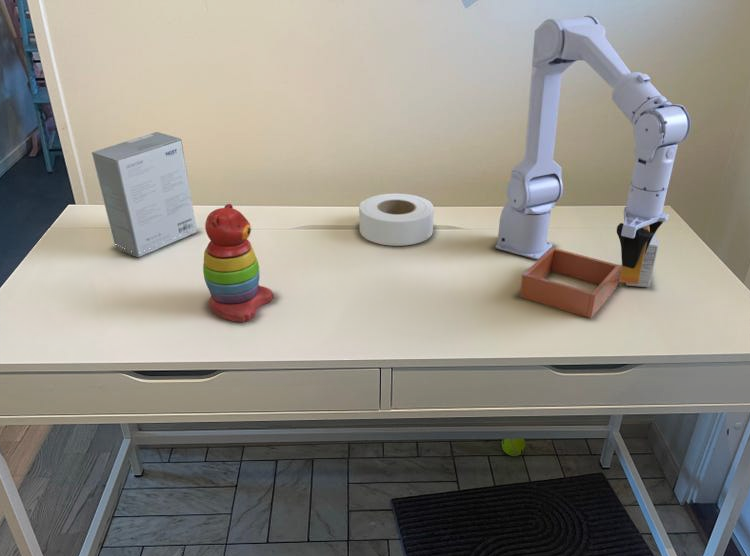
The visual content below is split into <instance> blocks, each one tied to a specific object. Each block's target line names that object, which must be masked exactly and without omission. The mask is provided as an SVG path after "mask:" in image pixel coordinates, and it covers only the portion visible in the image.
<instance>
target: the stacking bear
mask: <svg viewBox="0 0 750 556" xmlns="http://www.w3.org/2000/svg"><path fill="white" fill-rule="evenodd" d="M204 228H205V233H206V236H207V237H208V239H209V242H208V244H207V245H206V248H205V250H204V252H203V253H204V254H203V264H202V272H203V279H204V282H205V285H206V288H207V290H208V291H209V294H210V295H211V296H210V298H209V308H210V310H211V311H212V312H213V313H214V314H216V315H217V316H219V317H221V318H222V319H225V320H229V321H232V322H238V323H245V322H249V321H251V320H253V319H254V318H255V317H256V311H257V309H259V307H261V306H263V305H266V304H269V303H271V302H272V301H273V300H274V297H275V296H274V293H273V291H272V290H271V289H270V288H268V287H266V286H262V285H260V284H259V283H260V264H259V261H258V258H257V255H256V252H255V250H254V248H253V245H252V243H251V241H250V240H249V237H250V235H251V232H252V226H251V223H250V221H249V220H248V219H247V217H245V215H244V214H242V212H241V211H239V210H238V209H236V208H234V206H233V205H232V203H227V204H225V205H224V207H220V208H216V209H214V210H213V211H211V212H210V213H209V214H208V215H207V217H206V219H205V223H204Z"/></svg>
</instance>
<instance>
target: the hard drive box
mask: <svg viewBox="0 0 750 556" xmlns="http://www.w3.org/2000/svg"><path fill="white" fill-rule="evenodd" d="M91 156H92V159H93V164H94V168H95V172H96V176H97V180H98V184H99V188H100V193H101V196H102V200H103V204H104V208H105V211H106V217H107V220H108V223H109V228H110V232H111V236H112V240H113V244H114V248H115V250H119V251H122V252H124V253H126V254H128V255H130V256H133V257H136V258H140V257H142V256H145V255H148V254H151V253H152V252H155V251H157V250H159V249H161V248H164V247H165V246H168V245H171V244H172V243H175V242H177V241H179V240H183V239H185V238H187V237H189V236H191V235H194V234H196V233H197V232H198V229H197V223H196V216H195V212H194V206H193V201H192V200H193V199H192V196H191V188H190V182H189V177H188V171H187V165H186V159H185V158H186V157H185V153H184V147H183V143H182V139H181V138H180V137H176V136H172V135H170V134H167V133H164V132H163V133H162V132H160V131H159V132H158V131H157V132H152V133H148V134H145V135H142V136H139V137H136V138H132V139H129V140H126V141H122V142H120V143H116V144H114V145H110V146H107V147H104V148H100V149H98V150H95V151H92V152H91ZM192 230H193V231H192ZM190 231H191V232H190ZM185 233H186V234H185ZM180 235H181V236H180ZM175 237H176V238H175ZM173 238H174V239H173ZM163 242H164V243H163ZM115 244H117V245H115ZM118 245H119V246H118ZM156 245H157V246H156ZM120 246H121V247H120ZM122 247H123V248H122ZM124 248H125V249H124ZM149 248H150V249H149ZM144 250H145V251H144ZM131 251H132V252H131ZM139 252H140V253H139Z"/></svg>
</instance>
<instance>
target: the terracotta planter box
mask: <svg viewBox="0 0 750 556" xmlns="http://www.w3.org/2000/svg"><path fill="white" fill-rule="evenodd" d="M621 267H622V264H621V265H620V264H616V263H613V262H609V261H605V260H601V259H598V258H594V257H590V256H587V255H583V254H579V253H575V252H571V251H567V250H563V249H560V248H556V247H553V246H552V247H551V248H550V249H549V250H548V251H547V252H546V253H545V254H543V255H542V256H541V257H540V258H539V259H537V260H536V262H535V263H533V264H532V265H531V266H530V267H529V268H528V269H526V271H525V272H524V273H522V275H521V283H520V291H519V298H523V299H526V300H530V301H533V302H536V303H540V304H541V305H542V304H543V305H546V306H548V307H553V308H556V309H560V310H562V311H565V312H569V313H572V314H576V315H579V316H582V317H586V318H589V319H592V318H593V317H594V316H595V315H596V313H597V312H598V311H599V310H600V308H601V307H603V305H604V304H605V303H606V301H607V300H608V299H609V298H610V296H611V295H612V294H613V292H615V290H616V289H617V288H618V285H619V277H620V272H621ZM551 272H554V273H558V274H562V275H565V276H569V277H572V278H575V279H579V280H583V281H586V282H589V283H594V284H596V285H597V284H598V286H597V287H596V288H595V289H594V290H593V292H591V291H589V290H584V289H581V288H578V287H574V286H571V285H568V284H564V283H560V282H556V281H553V280H549V279H546V277H547V276H548V275H549V274H550V273H551Z"/></svg>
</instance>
